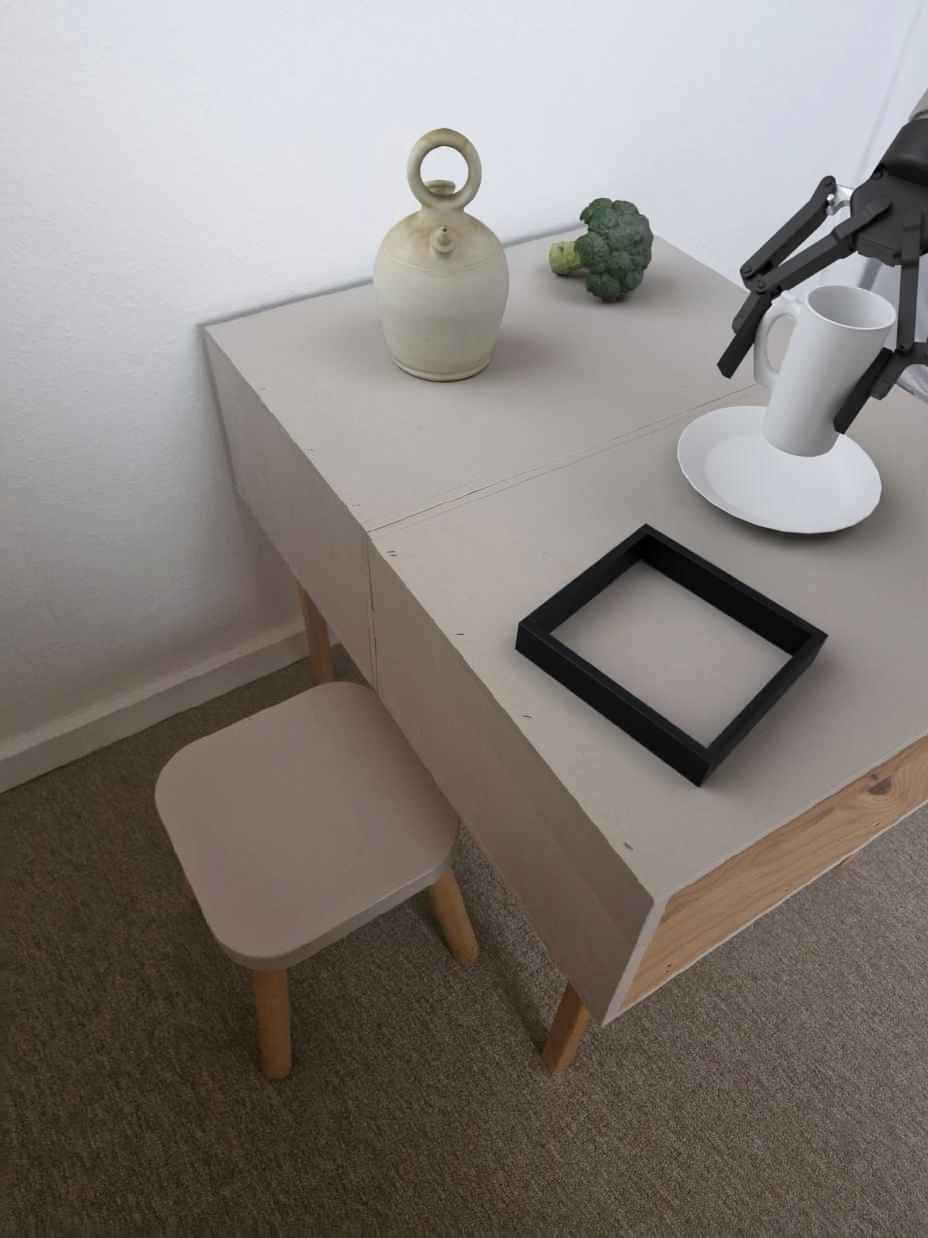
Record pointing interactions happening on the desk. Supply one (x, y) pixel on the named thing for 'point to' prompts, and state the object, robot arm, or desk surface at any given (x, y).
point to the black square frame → (625, 706)
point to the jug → (441, 274)
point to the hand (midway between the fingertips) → (778, 399)
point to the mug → (818, 362)
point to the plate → (776, 475)
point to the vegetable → (608, 248)
